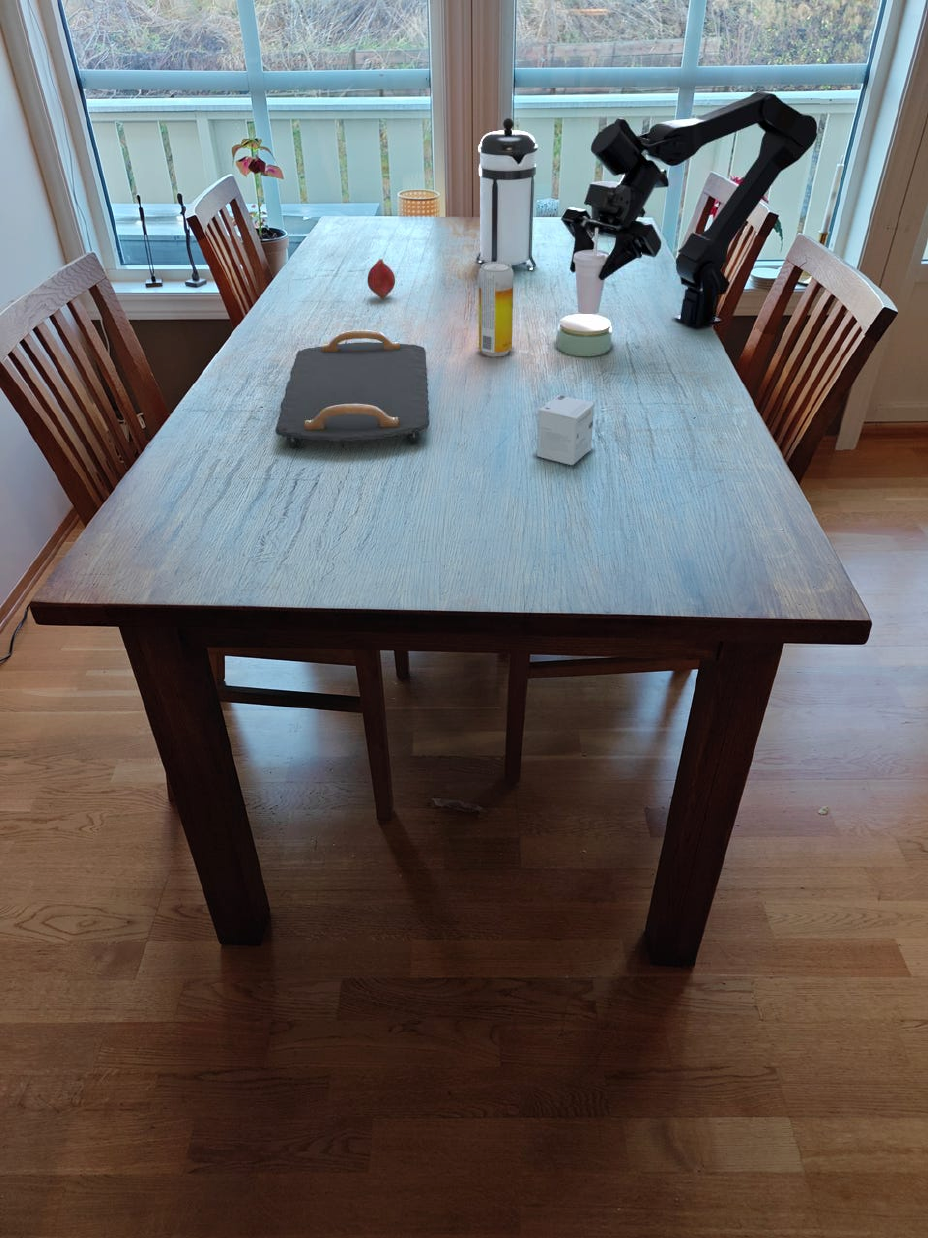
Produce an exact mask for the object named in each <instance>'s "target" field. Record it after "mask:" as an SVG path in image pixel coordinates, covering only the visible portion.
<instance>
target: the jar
mask: <svg viewBox="0 0 928 1238" xmlns="http://www.w3.org/2000/svg"><path fill="white" fill-rule="evenodd" d="M612 337H613V328H612V325H611V321H610V320H609V319H608V318H606V317H603V316H601V315H596V314H592V315H585V314H581V313H579V314H571V315H568V316H565V317H563V318H561V319H560V320H559V324H558V325H557V329H556V343H555V346H556V348H557V349H558V350H559V351H560V352H562V353H564V354H566V355H570V356H576V357H595V356H600V355H604V354H606V353H607V352H609V351H610V350H611V348H612Z"/></svg>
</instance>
